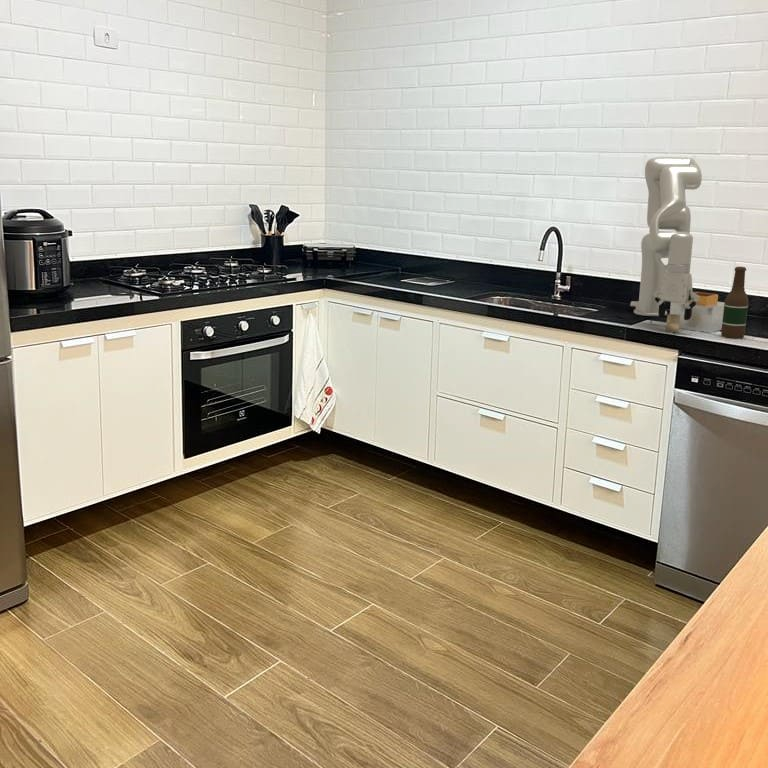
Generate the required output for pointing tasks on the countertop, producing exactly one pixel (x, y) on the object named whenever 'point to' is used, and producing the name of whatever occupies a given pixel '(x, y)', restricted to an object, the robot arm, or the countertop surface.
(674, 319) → the bead
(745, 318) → the beer bottle
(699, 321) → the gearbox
